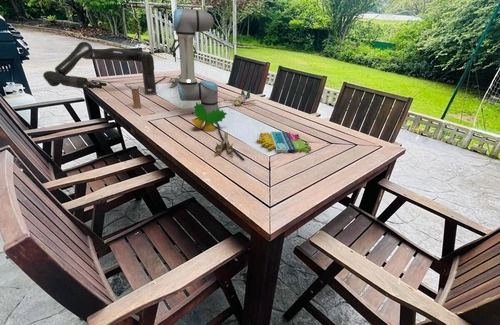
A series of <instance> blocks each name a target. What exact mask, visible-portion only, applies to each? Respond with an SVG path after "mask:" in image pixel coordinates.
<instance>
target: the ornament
mask: <svg viewBox="0 0 500 325" xmlns="http://www.w3.org/2000/svg"><path fill="white" fill-rule="evenodd" d="M219 110H220V108H219V109H217V110H216V111H214V110H212V112H211V113H208V112H206V109H204V106H201V103H198V102H196V101H195V105H194V106H193V112H194V113H195V118H192V119H191V122H192V123H193V125H195V127H197V128H198V129H202V130H203V131H206V132H212V131H213V132H214V131H215V130H216V126H215V124H216V123H218V124H219V122H223V119H226V115H227V114H228V113H227V112H224V110H223V109H221V110H220V111H219ZM207 113H208V115H207ZM214 123H215V124H214Z"/></svg>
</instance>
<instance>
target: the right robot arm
mask: <svg viewBox="0 0 500 325" xmlns="http://www.w3.org/2000/svg"><path fill="white" fill-rule="evenodd" d="M172 20H173V22H172V23H173V24H172V30H173V31H174V32H175V35H176V37H177V39H176V38H174V39H173V43H172V46H171V48H170V53H172V57H173V58H174V62H177V57H176V56H177V54H176V52H177V50H179V63H180V76H181V79H180V80H179V83H177V85H176V86H177V90H178V91H177V92H178V95H179V99H180V100H181V101H183V102H184V101H185V102H192V101H193V102H194V101H195V102H196V101H198V102H199V101H200V104H201V106H204V109H206V112H208V113H211V112H212V110H214V111H216V110H217V109H219V111H221V110H220V108H219V102H218V99H219V98H218V97H219V94H218V93H219V88H218V84H217V83H216V82H215V81H213V80H207V79H206V80H205V79H202V80H200V81H199V82H198V80H197V79H196V77H195V76H196V75H195V54H196V53H197V50H196V48H195V46H194V38H195V37H196V33H203V32H207V31H210V30H211V29H212V28H213V26H214V22H215V20H214V17H213V15H212V14H210V13H209V12H207V11H205V10H201V9H188V8H175V9H174V10H173V19H172ZM176 43H178V44H177V45H176ZM208 113H207V115H208ZM215 124H216V125H217V130H218V133H219V136H220V138H221V141H222V140H223V141H224V136H223V134H222V133H221V128H220V126H221V125H220V124H219V122H218V123H215ZM233 153H234V154H235V155H237V156H238V157H239V158H240V159H241V160H242V161H245V158H244V157H243V156H242V155H241V154H240V153H239V152H238V151H237V150H235V149H234V148H233Z"/></svg>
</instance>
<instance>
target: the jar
mask: <svg viewBox="0 0 500 325" xmlns="http://www.w3.org/2000/svg"><path fill="white" fill-rule="evenodd" d="M130 90H131V95H132V103H133V108H134V109H141V108H142V102H141V94H140V87H139V88H138V89H131V88H130Z"/></svg>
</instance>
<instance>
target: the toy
mask: <svg viewBox="0 0 500 325" xmlns="http://www.w3.org/2000/svg"><path fill="white" fill-rule="evenodd" d="M240 92H241V93H240V95H238V96H237V97H235V99H233V98H230V99H228V98H227V97H226V96H225V97H224V98H223V101H224V102H233V103H232V104H233V105H235V106H242V103H243V104H247V105H252V106H255V105H256V104H257V103H256V102H254V101H253V100H252V101H251V102H250V101H248V100H246V99H248V98H250V97H251V90H250V89H249V90H248V91H247V92H246V93H245V91H244V89H242V90H241V91H240Z"/></svg>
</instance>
